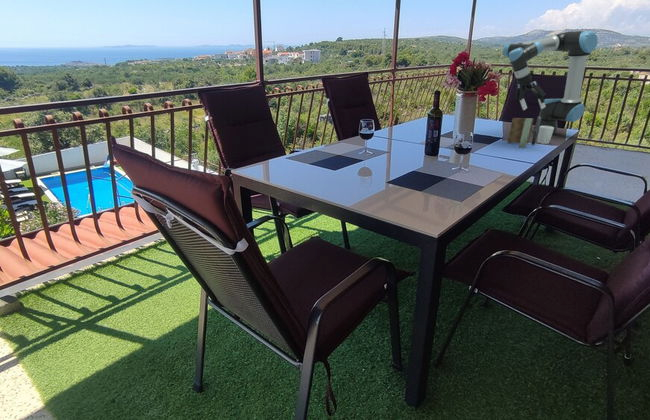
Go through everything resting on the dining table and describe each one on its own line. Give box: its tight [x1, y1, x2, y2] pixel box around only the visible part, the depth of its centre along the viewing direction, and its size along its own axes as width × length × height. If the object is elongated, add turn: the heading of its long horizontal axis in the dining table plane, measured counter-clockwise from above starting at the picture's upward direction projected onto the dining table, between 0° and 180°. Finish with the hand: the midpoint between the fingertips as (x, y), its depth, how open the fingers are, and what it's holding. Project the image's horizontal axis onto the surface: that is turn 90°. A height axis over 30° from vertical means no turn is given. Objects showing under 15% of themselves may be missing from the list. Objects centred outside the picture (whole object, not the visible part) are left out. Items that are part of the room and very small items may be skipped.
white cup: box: [536, 126, 554, 145], centre depth 232 cm, size 8×8×10 cm
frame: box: [518, 115, 542, 149], centre depth 223 cm, size 16×2×17 cm, turn 124°
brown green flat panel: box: [507, 117, 535, 144], centre depth 229 cm, size 12×1×15 cm, turn 84°
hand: (534, 108), depth 221 cm, fingers open, 13 cm apart
